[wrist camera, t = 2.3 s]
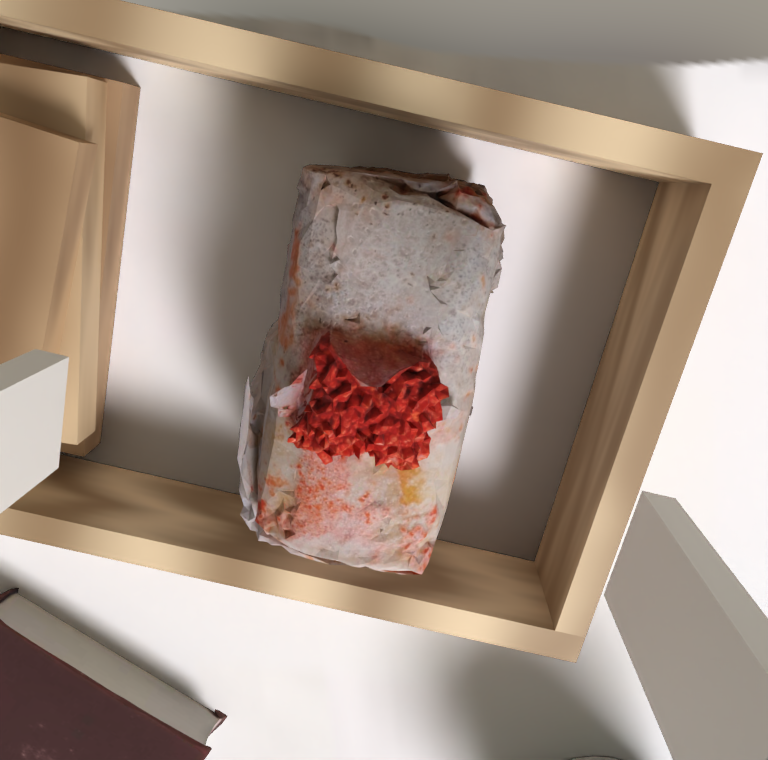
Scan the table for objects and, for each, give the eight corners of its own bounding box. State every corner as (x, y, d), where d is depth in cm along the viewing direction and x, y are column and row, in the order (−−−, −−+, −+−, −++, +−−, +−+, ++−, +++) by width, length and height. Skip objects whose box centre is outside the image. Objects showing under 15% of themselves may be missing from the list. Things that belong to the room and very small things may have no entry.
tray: (-57, 452, 31) (-143, 502, 27) (-38, -18, 26) (-141, -63, 21) (552, 589, 32) (576, 662, 27) (700, 157, 26) (763, 153, 22)
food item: (441, 496, 31) (451, 637, 22) (265, 469, 31) (197, 597, 22) (501, 182, 27) (545, 186, 18) (298, 150, 27) (234, 138, 18)
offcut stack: (-29, 413, 31) (-103, 453, 26) (-9, 52, 26) (-95, 27, 22) (108, 444, 31) (57, 489, 26) (149, 90, 27) (96, 73, 22)
